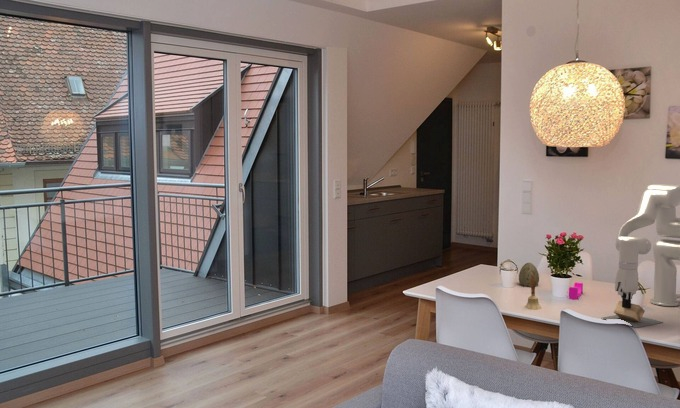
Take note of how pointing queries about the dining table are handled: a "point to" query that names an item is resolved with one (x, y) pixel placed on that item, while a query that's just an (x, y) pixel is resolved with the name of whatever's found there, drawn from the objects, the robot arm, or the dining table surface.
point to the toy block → (576, 291)
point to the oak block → (630, 312)
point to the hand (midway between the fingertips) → (626, 307)
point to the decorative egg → (528, 275)
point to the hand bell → (533, 297)
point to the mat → (642, 323)
